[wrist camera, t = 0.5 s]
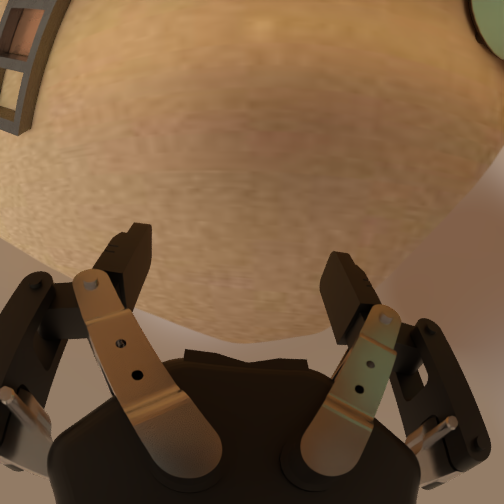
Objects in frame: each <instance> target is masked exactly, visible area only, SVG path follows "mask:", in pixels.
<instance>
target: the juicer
mask: <svg viewBox="0 0 504 504" xmlns="http://www.w3.org/2000/svg"><path fill="white" fill-rule="evenodd" d="M468 1H469V9H470V13H471V17H472V20H473V23H474V25H475V27H476V30H477V32H476V39H477V41H478V42H479V43H480V44H483V45H486V46H487V47H488V49H489V50H490V51H491V52H492V53H493V54H495V55H496V56H497V57H498V58H500V59H502V60H504V0H468Z"/></svg>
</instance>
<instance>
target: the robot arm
mask: <svg viewBox="0 0 504 504" xmlns="http://www.w3.org/2000/svg"><path fill="white" fill-rule="evenodd" d="M151 258H152V227H151V225H150V224H143V223H133V225H132V226H131V228H130V229H129V231H128V232H127V233H125V232H121V233H119V234H118V235H116V236H115V237H113V238H112V240H111V241H110V242H109V244H108V246H107V247H106V248H105V250H104V251H103V253H102V254H101V256H100V257H99V259H98V260H97V262H96V263H95V265H94V266H93V268H92V269H88V270H84V271H82V272H80V273H79V274H77V275H76V276H75V277H74V279H73V282H69V283H53V279H52V276H51V275H50V274H48V273H47V272H42V271H40V272H34V273H31V274H29V275H28V276H26V277H25V278H24V279H23V280H22V282H21V283H20V284H19V286H18V287H17V289H16V290H15V292H14V293H13V295H12V296H11V298H10V299H9V301H8V303H7V304H6V306H5V307H4V309H3V310H2V312H1V314H0V463H1V464H3V465H5V466H7V467H8V468H10V469H12V470H14V471H24V470H25V471H27V472H30V473H32V474H34V475H37V476H39V477H42V478H44V479H47V480H49V481H50V483H51V486H52V489H53V492H54V496H55V500H56V504H416V500H417V494H418V489H419V488H420V487H421V488H423V489H426V490H430V489H433V488H435V487H437V486H439V485H442V484H444V483H445V482H447V481H449V480H451V479H453V478H455V477H457V476H458V475H461V474H462V473H464V472H466V471H467V470H469V469H471V468H473V467H474V466H476V465H478V464H479V463H481V462H483V461H484V460H486V459H487V458H488V456H489V454H490V451H491V442H490V438H489V435H488V432H487V430H486V427H485V424H484V422H483V419H482V416H481V414H480V411H479V409H478V406H477V404H476V401H475V399H474V396H473V394H472V392H471V390H470V387H469V385H468V383H467V381H466V378H465V376H464V374H463V372H462V370H461V368H460V365H459V363H458V361H457V359H456V357H455V355H454V353H453V351H452V349H451V347H450V345H449V343H448V342H447V340H446V338H445V336H444V334H443V332H442V331H441V329H440V327H439V326H438V325H437V324H435V322H433V321H431V320H429V319H426V318H422V319H419V320H418V322H417V323H416V325H415V326H412V325H408V324H405V323H402V322H401V318H400V316H399V315H398V313H397V312H396V311H395V310H393V309H392V308H390V307H388V306H386V305H382V304H381V302H380V300H379V298H378V296H377V294H376V292H375V290H374V289H373V287H372V285H371V283H370V281H368V280H369V279H368V278H367V276H366V274H365V272H364V271H363V270H362V269H360V268H359V267H358V266H357V265H355V263H354V262H353V260H352V258H351V256H350V255H349V254H348V253H342V252H336V251H333V252H332V253H331V254H330V256H329V259H328V261H327V264H326V267H325V269H324V272H323V274H322V277H321V280H320V293H321V296H322V299H323V302H324V305H325V308H326V311H327V314H328V317H329V320H330V323H331V326H332V330H333V333H334V336H335V339H336V342H337V344H338V345H348V349H347V351H346V352H345V354H344V356H343V358H342V359H341V361H340V363H339V365H338V366H337V368H336V370H335V371H334V373H333V375H332V377H331V378H329V377H327V376H326V375H324V374H322V373H320V372H318V371H315V370H312V369H309V368H308V364H307V360H305V359H282V358H280V359H279V358H278V359H272V360H265V361H258V362H250V363H248V362H243V361H240V360H237V359H233V358H230V357H227V356H224V355H221V354H217V353H211V352H203V351H196V350H188V349H185V353H184V358H178V359H172V360H168V361H165V362H161V361H160V359H159V357H158V356H157V354H156V353H155V351H154V349H153V348H152V346H151V344H150V343H149V341H148V339H147V338H146V336H145V334H144V333H143V331H142V329H141V328H140V326H139V324H138V322H137V320H136V319H135V317H134V315H133V313H132V312H133V309H134V307H135V304H136V301H137V299H138V296H139V294H140V291H141V289H142V286H143V284H144V281H145V279H146V276H147V274H148V271H149V269H150V265H151ZM80 338H87V339H88V341H89V344H90V347H91V349H92V352H93V354H94V357H95V359H96V361H97V364H98V366H99V369H100V371H101V373H102V376H103V378H104V381H105V383H106V385H107V387H108V390H109V392H110V394H111V396H112V397H111V398H110V399H109V400H107V401H106V402H105V403H103V404H102V405H100V406H99V407H97V408H96V409H95V410H93V411H92V412H90V413H89V414H88V415H86V416H85V417H83V418H82V419H81V420H79V421H78V422H76V423H75V424H74V425H72V426H71V427H69V428H68V429H67V430H65V431H64V432H62V433H61V434H60V435H59V436H58V437H57V438H56V439H55V440H54V442H53V441H52V438H51V420H50V417H49V415H48V414H47V413H46V412H45V410H44V407H45V404H46V401H47V397H48V394H49V391H50V388H51V385H52V382H53V379H54V376H55V373H56V370H57V368H58V365H59V362H60V359H61V357H62V354H63V351H64V349H65V346H66V344H67V341H68V339H80ZM423 363H424V366H425V368H426V370H427V373H428V382H427V384H426V385H425V386H424V385H423V383H422V380H421V377H420V375H419V372H418V368H419V367H420V366H421V365H422V364H423ZM389 379H390V382H391V385H392V388H393V392H394V395H395V398H396V402H397V405H398V408H399V412H400V415H401V419H402V422H403V426H404V430H405V434H406V441H405V443H403V442H402V441H401V440H400V439H399V438H397V437H396V436H395V435H394V434H393V433H392V432H391V431H389V430H388V429H387V428H386V427H385V426H384V425H383V424H381V423H380V422H379V421H378V420H377V419H376V418H375V417H374V416H375V414H376V411H377V409H378V406H379V404H380V401H381V399H382V396H383V393H384V391H385V388H386V385H387V382H388V380H389Z"/></svg>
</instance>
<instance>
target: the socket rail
mask: <svg viewBox="0 0 504 504" xmlns="http://www.w3.org/2000/svg"><path fill="white" fill-rule="evenodd" d="M70 1H71V0H9V1H8V4H7V6H6V9H5V11H4V14H3V17H2V19H1V22H0V92H1V87H2V82H3V77H4V73H5V69H10V70H14V71H18V72H23V73H24V74H23V78H22V82H21V86H20V90H19V95H18V100H17V105H16V111H14V110H11V109H8V108H4V107H1V106H0V129H1V130H3V131H6V132H8V133H11V134H14V135H16V136H19V135H21V134H22V133H24V132H26V131H27V130H29V129H31V124H32V119H33V114H34V109H35V104H36V100H37V95H38V91H39V87H40V83H41V80H42V76H43V73H44V69H45V66H46V63H47V59H48V56H49V53H50V50H51V48H52V45H53V42H54V39H55V37H56V34H57V31H58V29H59V26H60V24H61V21H62V19H63V17H64V14H65V12H66V10H67V8H68V6H69V3H70ZM10 52H11V53H10ZM16 53H17V54H16ZM21 54H22V55H21ZM26 55H27V56H26Z"/></svg>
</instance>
